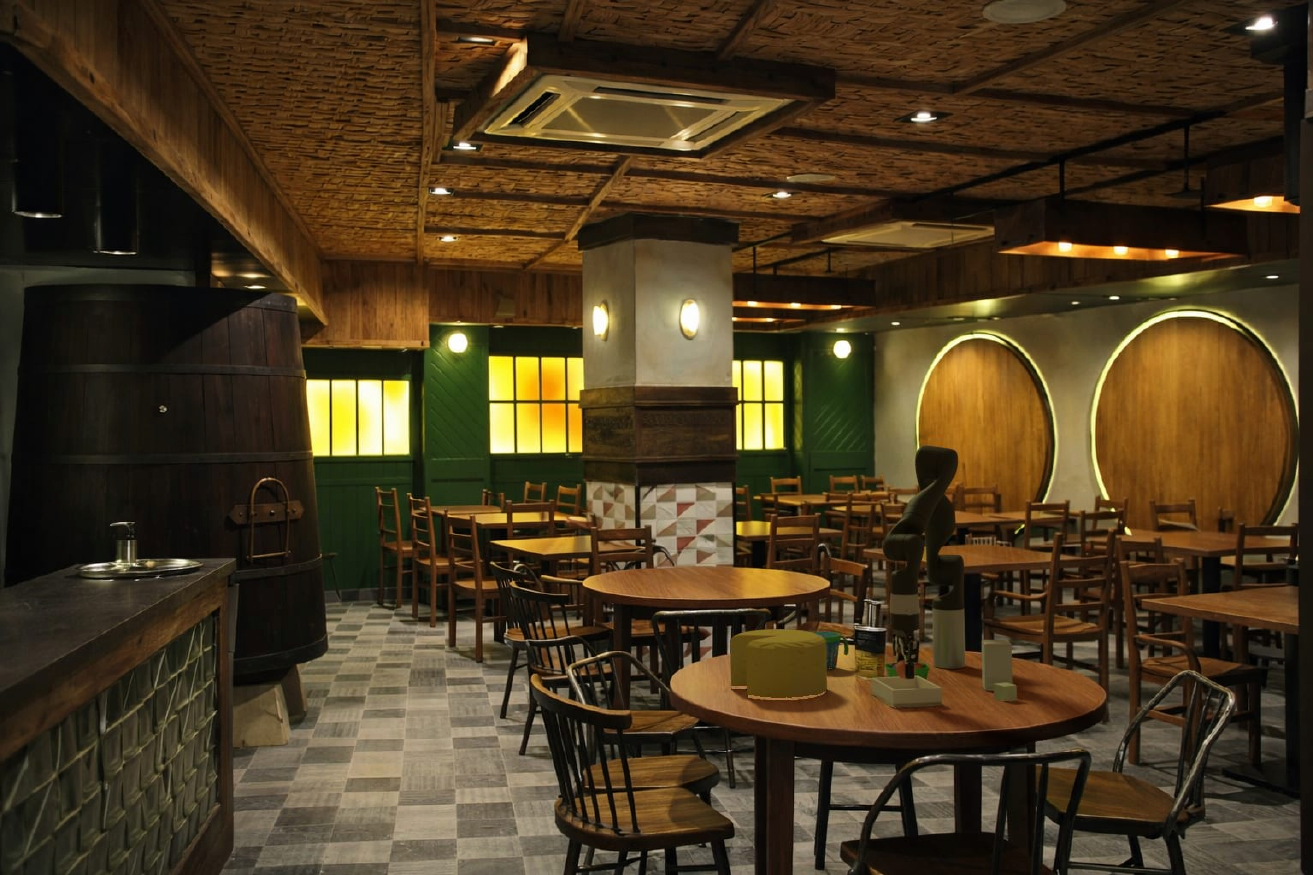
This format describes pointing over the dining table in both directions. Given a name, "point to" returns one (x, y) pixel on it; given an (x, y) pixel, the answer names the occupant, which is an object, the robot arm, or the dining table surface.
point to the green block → (1005, 692)
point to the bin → (906, 692)
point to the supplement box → (996, 663)
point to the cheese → (779, 663)
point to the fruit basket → (920, 671)
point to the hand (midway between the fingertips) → (905, 676)
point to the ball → (902, 669)
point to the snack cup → (833, 647)
